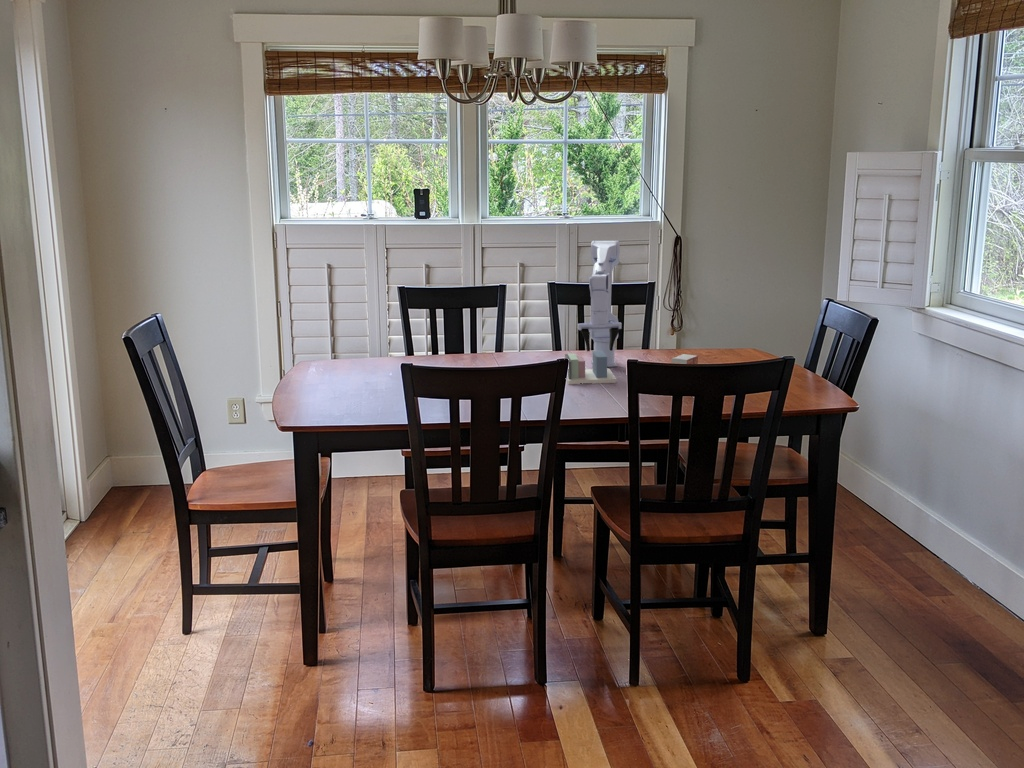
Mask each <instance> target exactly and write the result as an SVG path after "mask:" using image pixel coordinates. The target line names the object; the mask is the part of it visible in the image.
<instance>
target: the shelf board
mask: <svg viewBox="0 0 1024 768" xmlns="http://www.w3.org/2000/svg"><path fill="white" fill-rule="evenodd" d="M617 380H618V379H617V378H616V376H615V375H614V373H613V372H612V370H611V369H610V367H609V368H608V367H607V378H596V376H595V374H594V373H593V368H585V378H573V379H569V378H568V376H567V380H566V382H567V384H568V385H584V384H583V383H592V384H611V383H612V384H617ZM580 383H582V384H580Z"/></svg>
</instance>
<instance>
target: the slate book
mask: <svg viewBox="0 0 1024 768" xmlns="http://www.w3.org/2000/svg"><path fill="white" fill-rule="evenodd" d="M591 354H592V360H593V364H592V369H593V373H594V374H595V376H596V378H607V368H608V367H607V356H606V355H605V353H604V352H603V351H594V350H592V353H591Z"/></svg>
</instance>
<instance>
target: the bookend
mask: <svg viewBox="0 0 1024 768" xmlns="http://www.w3.org/2000/svg"><path fill="white" fill-rule="evenodd" d="M567 354H568V353H565V354H564V359H565V358H567V359H569V369H568V378H569V379H571V360H570V358H569V357H568V355H567Z"/></svg>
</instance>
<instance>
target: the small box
mask: <svg viewBox="0 0 1024 768" xmlns="http://www.w3.org/2000/svg"><path fill="white" fill-rule="evenodd" d="M670 361H671V363H681V364H698V365H699V356H698V355H694V354H685V353H682V354H680V355H678V356H674V357H671V360H670ZM671 363H670V364H671Z"/></svg>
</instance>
